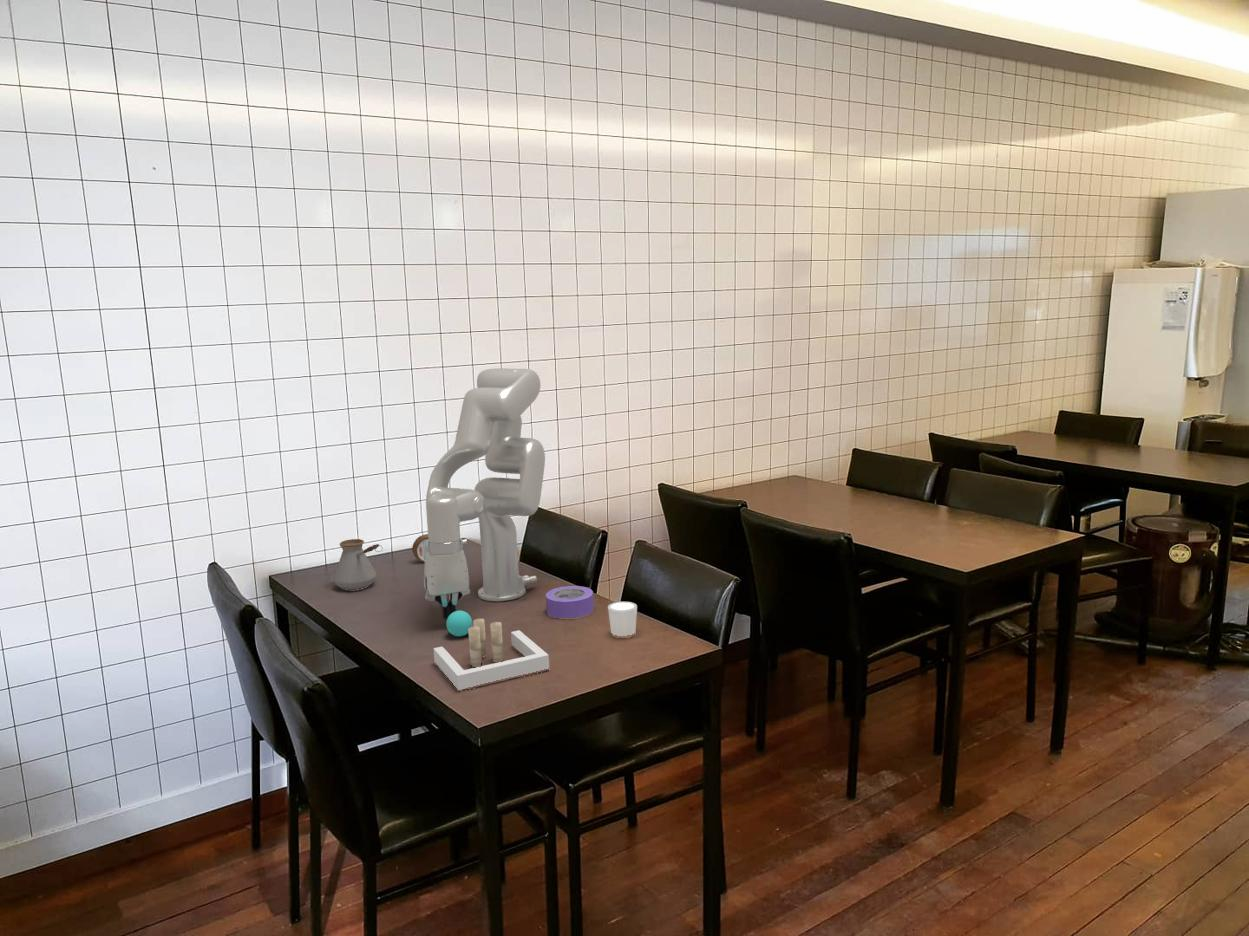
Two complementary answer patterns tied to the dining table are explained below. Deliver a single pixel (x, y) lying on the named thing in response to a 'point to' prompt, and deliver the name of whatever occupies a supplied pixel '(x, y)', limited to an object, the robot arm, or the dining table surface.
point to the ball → (459, 623)
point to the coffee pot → (354, 566)
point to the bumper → (497, 671)
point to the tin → (421, 547)
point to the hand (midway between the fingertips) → (449, 620)
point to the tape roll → (569, 602)
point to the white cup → (622, 618)
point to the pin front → (481, 635)
